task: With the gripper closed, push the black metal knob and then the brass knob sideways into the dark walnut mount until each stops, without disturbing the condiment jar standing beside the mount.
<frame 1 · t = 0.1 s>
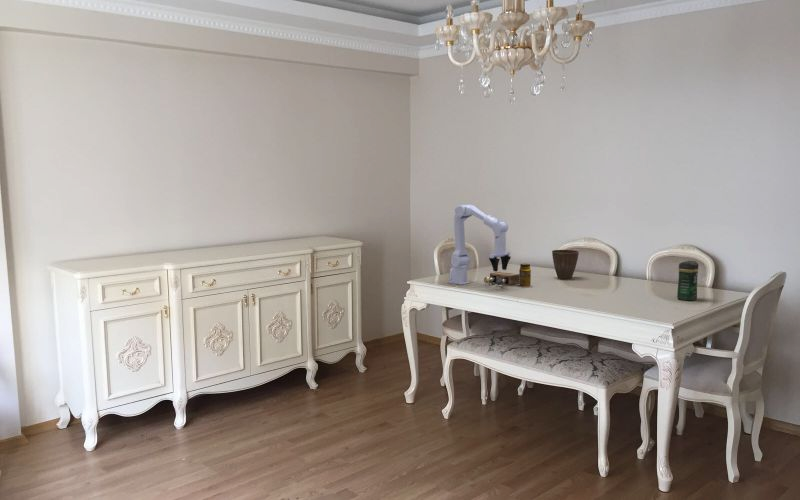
hand: (499, 270, 351), 10 cm above the table, tool pointing down, fingers open, 7 cm apart
walnut mount: (504, 283, 369), on the table
brass knob: (491, 279, 367), point 3 cm above the table, slide at 0.0 cm
coffee jar: (687, 299, 320), on the table
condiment: (523, 286, 361), on the table
plant pot: (564, 279, 384), on the table
black knob: (503, 281, 361), point 3 cm above the table, slide at 0.0 cm
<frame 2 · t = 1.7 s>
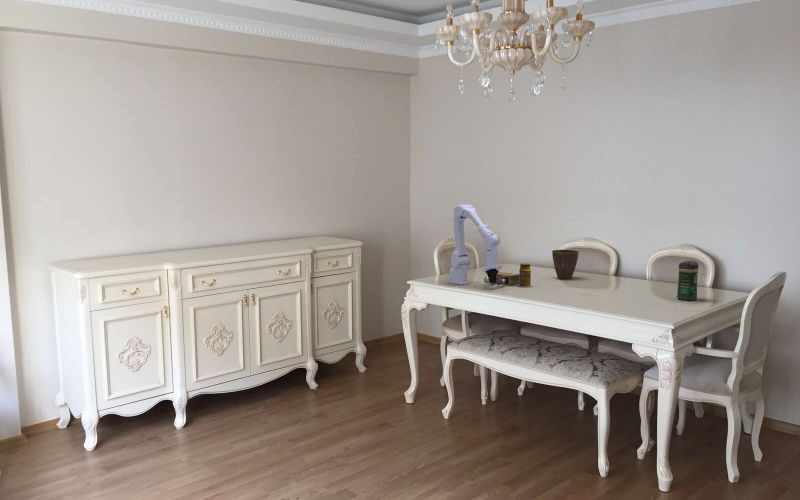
hand: (491, 283, 354), 3 cm above the table, tool pointing down, fingers closed
nothing on the table moved.
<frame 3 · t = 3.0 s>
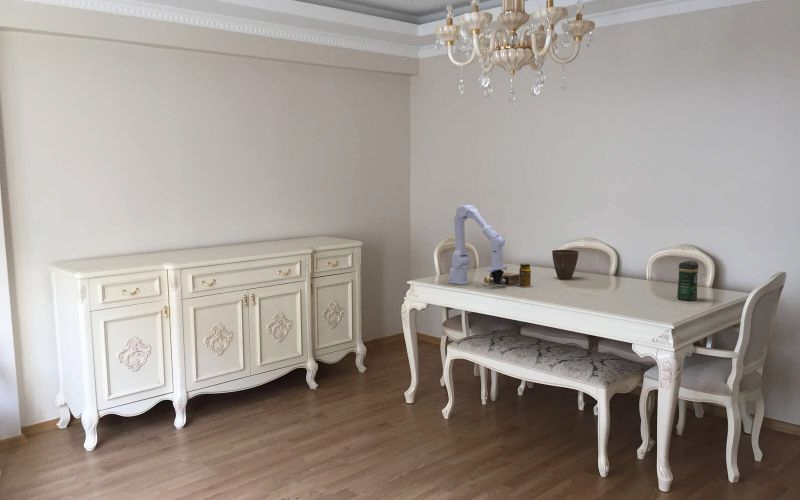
hand: (497, 284, 358), 2 cm above the table, tool pointing down, fingers closed
black knob: (503, 280, 361), point 3 cm above the table, slide at 0.5 cm, touching gripper
everything else where it was.
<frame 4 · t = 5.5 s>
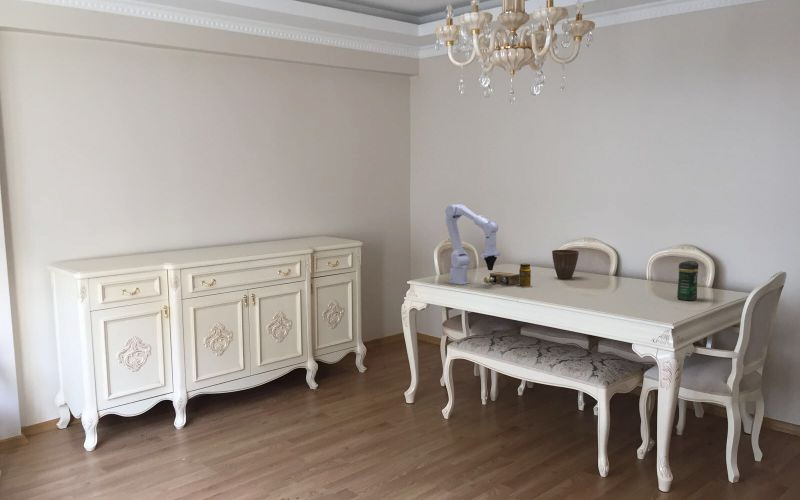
hand: (490, 270, 357), 9 cm above the table, tool pointing down, fingers closed
black knob: (508, 280, 364), point 3 cm above the table, slide at 4.2 cm
everything else where it was.
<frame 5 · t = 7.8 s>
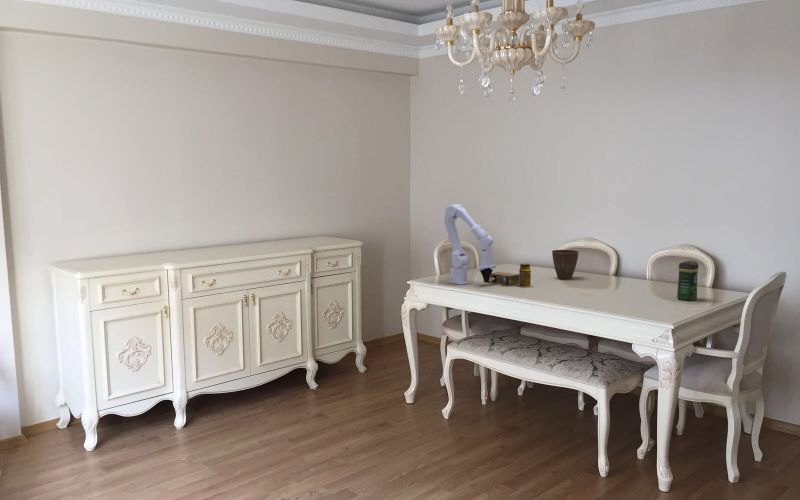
hand: (486, 282, 364), 2 cm above the table, tool pointing down, fingers closed
brass knob: (492, 279, 368), point 3 cm above the table, slide at 1.3 cm, touching gripper
everything else where it was.
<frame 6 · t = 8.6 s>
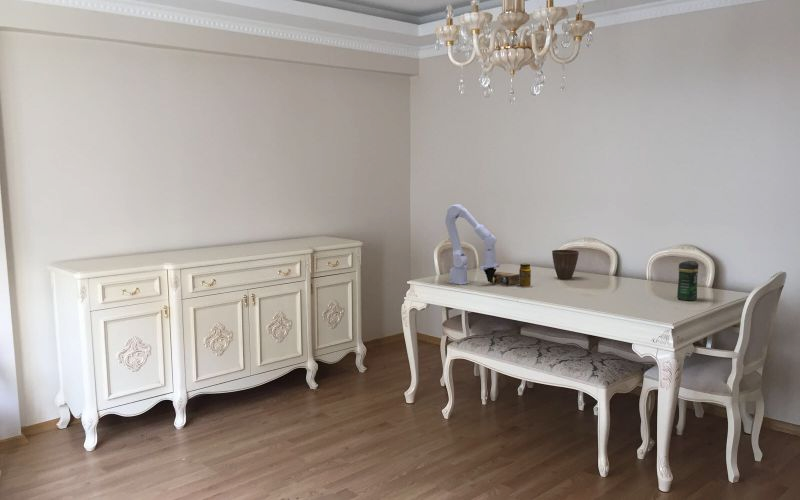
hand: (489, 281, 366), 2 cm above the table, tool pointing down, fingers closed
brass knob: (496, 278, 370), point 3 cm above the table, slide at 4.3 cm, touching gripper
everything else where it was.
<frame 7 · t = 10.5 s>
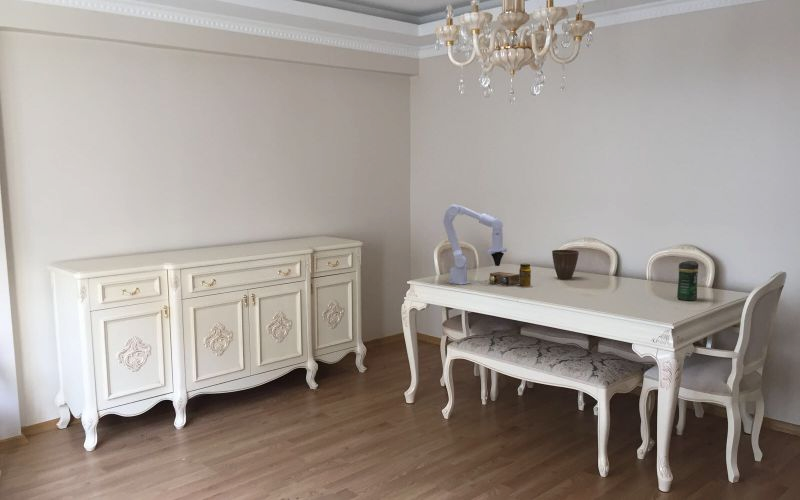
hand: (497, 265, 368), 10 cm above the table, tool pointing down, fingers closed
brass knob: (496, 278, 370), point 3 cm above the table, slide at 4.2 cm
everything else where it was.
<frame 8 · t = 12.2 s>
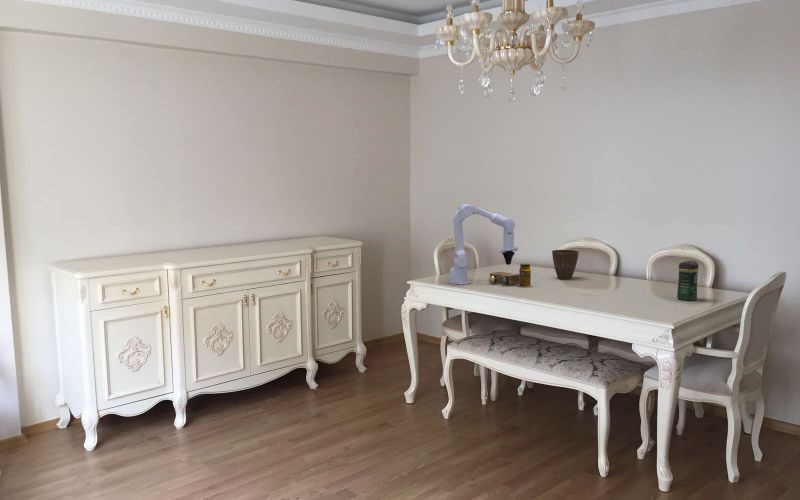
hand: (508, 264, 373), 10 cm above the table, tool pointing down, fingers closed
nothing on the table moved.
at the end: black knob slide at 4.2 cm; brass knob slide at 4.2 cm; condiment moved 0.3 cm from its start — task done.
